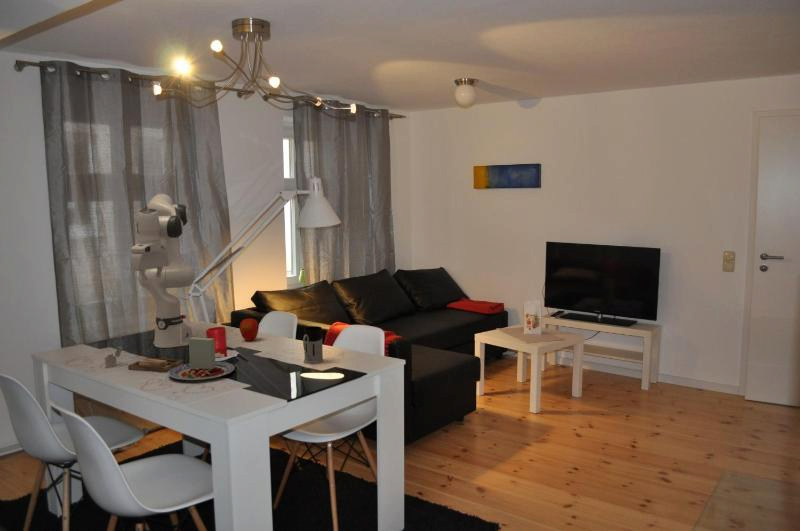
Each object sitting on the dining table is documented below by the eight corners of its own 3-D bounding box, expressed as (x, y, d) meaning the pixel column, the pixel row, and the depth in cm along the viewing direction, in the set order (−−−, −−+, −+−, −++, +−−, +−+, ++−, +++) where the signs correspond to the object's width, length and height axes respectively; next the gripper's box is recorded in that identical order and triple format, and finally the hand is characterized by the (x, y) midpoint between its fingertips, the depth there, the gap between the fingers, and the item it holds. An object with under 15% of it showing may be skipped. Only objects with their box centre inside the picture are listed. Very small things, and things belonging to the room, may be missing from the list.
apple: (236, 341, 312) (235, 318, 311) (248, 337, 320) (247, 314, 319) (251, 343, 308) (250, 319, 307) (262, 339, 316) (262, 316, 315)
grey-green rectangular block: (194, 365, 259) (192, 337, 258) (215, 367, 256) (214, 338, 255) (189, 367, 256) (188, 338, 255) (211, 369, 254) (210, 340, 252)
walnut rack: (147, 361, 275) (147, 357, 275) (183, 364, 270) (183, 360, 270) (128, 369, 263) (128, 365, 263) (165, 372, 258) (165, 367, 258)
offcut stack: (146, 366, 269) (145, 358, 269) (168, 368, 266) (168, 360, 265) (137, 369, 264) (137, 361, 264) (160, 371, 261) (160, 363, 260)
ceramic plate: (211, 363, 274) (210, 356, 274) (247, 373, 258) (247, 366, 257) (156, 376, 254) (155, 369, 254) (191, 388, 238) (191, 381, 238)
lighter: (106, 367, 266) (105, 349, 265) (105, 367, 267) (104, 348, 266) (123, 364, 271) (122, 346, 270) (121, 363, 272) (120, 345, 272)
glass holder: (326, 359, 277) (326, 326, 275) (314, 368, 263) (313, 333, 262) (308, 358, 279) (307, 325, 277) (294, 367, 266) (293, 332, 264)
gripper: (158, 244, 279) (160, 275, 281) (127, 248, 260) (129, 281, 261) (171, 245, 278) (172, 275, 279) (140, 249, 258) (142, 282, 260)
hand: (151, 278), depth 270 cm, fingers open, 8 cm apart
